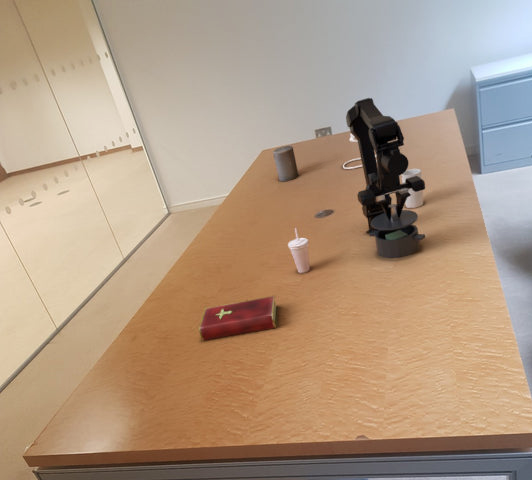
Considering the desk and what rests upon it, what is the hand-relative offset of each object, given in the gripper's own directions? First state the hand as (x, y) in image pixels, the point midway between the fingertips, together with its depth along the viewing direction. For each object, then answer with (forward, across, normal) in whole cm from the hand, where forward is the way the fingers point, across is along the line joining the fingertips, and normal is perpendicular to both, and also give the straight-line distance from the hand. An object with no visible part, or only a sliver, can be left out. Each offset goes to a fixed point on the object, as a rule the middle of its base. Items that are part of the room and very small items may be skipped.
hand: (394, 218), depth 168 cm
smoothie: (+11, +29, -5) cm, 32 cm away
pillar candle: (+12, +18, -112) cm, 114 cm away
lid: (+1, 0, 0) cm, 1 cm away
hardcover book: (+11, +52, +19) cm, 57 cm away
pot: (+11, 0, 0) cm, 11 cm away
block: (+10, 0, 0) cm, 10 cm away
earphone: (+12, -17, -103) cm, 105 cm away
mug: (+11, -18, -36) cm, 42 cm away
